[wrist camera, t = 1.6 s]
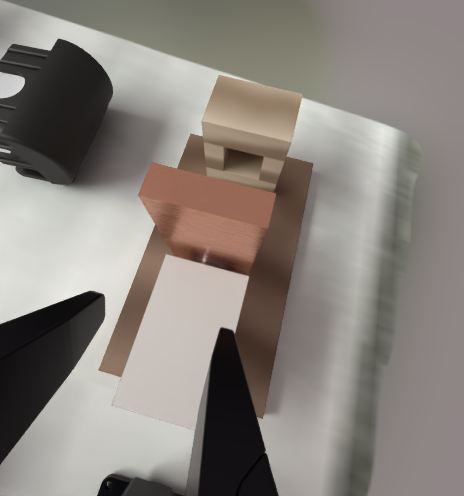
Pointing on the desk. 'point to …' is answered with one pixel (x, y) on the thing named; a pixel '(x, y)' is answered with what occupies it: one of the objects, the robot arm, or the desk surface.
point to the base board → (258, 287)
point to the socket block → (248, 132)
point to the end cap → (52, 110)
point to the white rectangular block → (179, 340)
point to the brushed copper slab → (207, 217)
